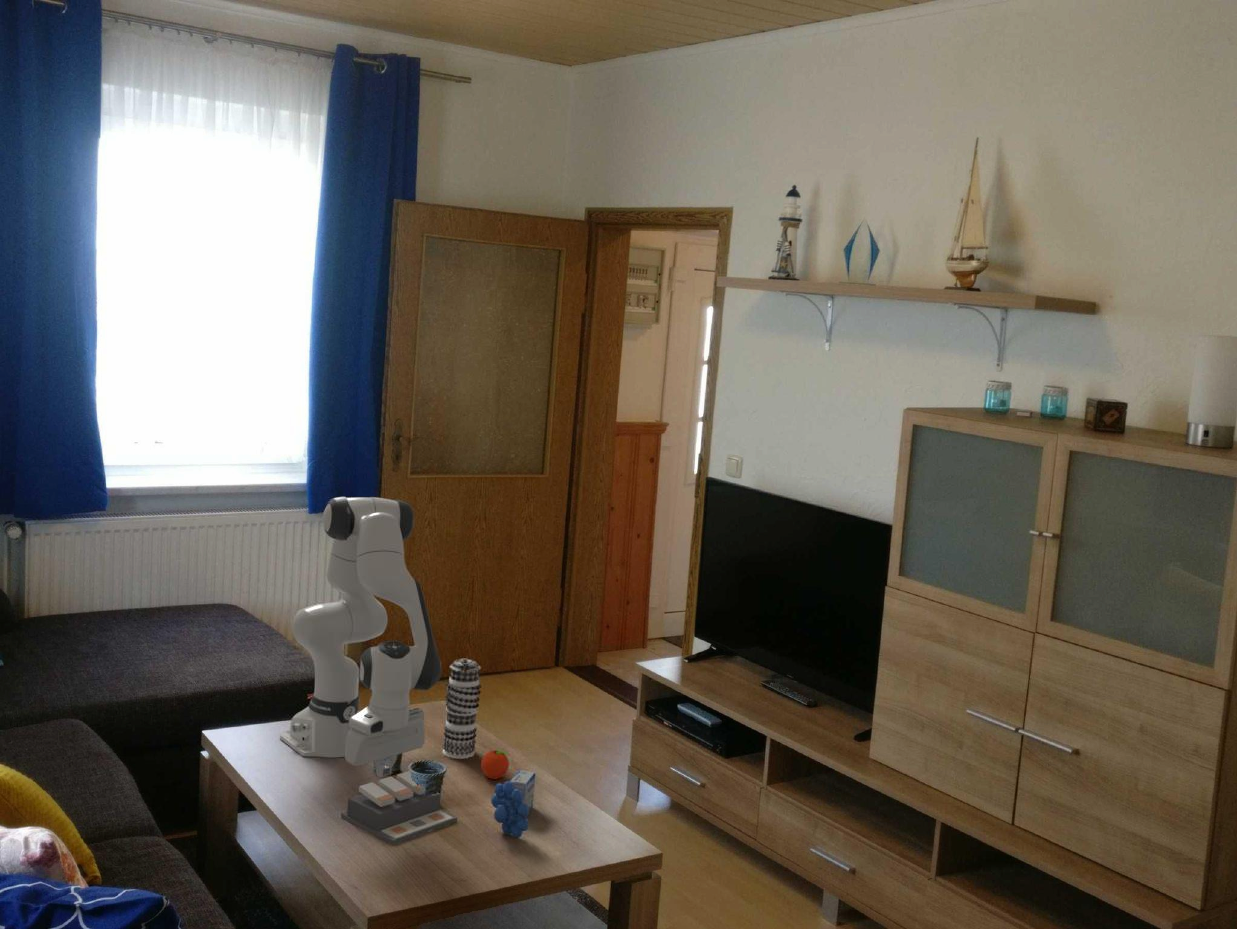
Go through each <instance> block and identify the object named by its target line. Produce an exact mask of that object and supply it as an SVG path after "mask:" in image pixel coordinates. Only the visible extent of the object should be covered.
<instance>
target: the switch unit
mask: <svg viewBox="0 0 1237 929" xmlns="http://www.w3.org/2000/svg"><path fill="white" fill-rule="evenodd" d="M400 783H401V782H400ZM403 785H404V784H403ZM406 787H407V786H406ZM407 788H408V787H407ZM382 789H383V788H382ZM409 789H410V788H409ZM383 790H384V789H383ZM384 791H385V790H384ZM386 792H387V791H386ZM413 792H414V791H413ZM436 792H437V793H436V794H432V795H421V794H419V795H418V794H417V793H415V792H414V793H413V797H410V798H407V799H404V800H401V801H400V800H398V799H397V798H395V797H394V798H395V801H394V803H392V804H389V805H386V806H383V807H380V806H379V805H377V804H376V803H375V802H373V801H372V800H370V799H369V798H368V797H366V796H365V795H363V794H362V793H360V794H357V795H353V796H351V797H348V798H347V811H344V812H342V813H340V818H341V819H343V820H344V821H346V822H348V823H349V824H352V825H353V826H356V827H358V828H360V829H361V830H363V831H365V830H366V831H365V832H367V833H369V834H371V835H373V836H375V837H376V838H379V839H381V840H382V839H383V840H382V841H384V842H387V843H388V842H389V843H388V844H390V845H392V846H394V845H397V844H400V843H402V842H401V841H403V842H405V841H407V839H408V840H411V839H413V838H412V837H414V836H416V837H419V836H421V835H420V834H422V833H425V834H427V833H429V832H428V831H430V830H433V829H436V828H438V829H440V828H439V827H441V828H443V827H442V826H444V827H446V826H445V825H447V826H449V825H452V824H454V823H457V822H458V817H457V816H455V815H453V814H451V813H449V812H447V811H445V810H442V809H440V808H441V796H442V793H440V792H438V791H436ZM387 793H388V792H387ZM389 794H390V793H389ZM451 823H452V824H451ZM448 824H449V825H448ZM436 830H437V829H436ZM433 831H434V830H433ZM426 832H427V833H426ZM430 832H431V831H430ZM418 835H419V836H418ZM422 835H423V834H422ZM410 838H411V839H410ZM414 838H415V837H414ZM399 842H400V843H399Z"/></svg>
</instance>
